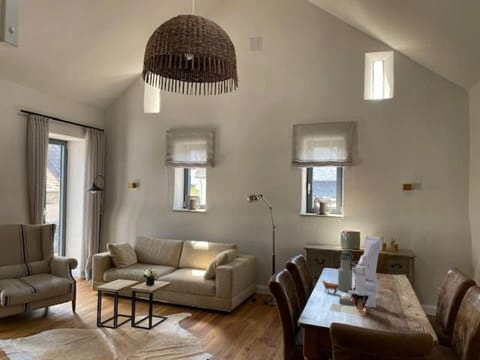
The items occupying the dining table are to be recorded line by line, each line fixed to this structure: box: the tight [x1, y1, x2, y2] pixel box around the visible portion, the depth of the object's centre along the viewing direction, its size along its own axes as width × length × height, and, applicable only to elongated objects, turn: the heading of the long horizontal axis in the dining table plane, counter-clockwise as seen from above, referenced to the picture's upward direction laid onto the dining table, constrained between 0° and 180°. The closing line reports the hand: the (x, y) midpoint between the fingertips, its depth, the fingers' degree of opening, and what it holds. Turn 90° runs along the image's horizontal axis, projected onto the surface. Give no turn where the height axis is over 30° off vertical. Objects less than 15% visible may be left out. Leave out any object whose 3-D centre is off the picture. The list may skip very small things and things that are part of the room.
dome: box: [341, 293, 350, 300], centre depth 238 cm, size 5×5×5 cm
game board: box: [329, 303, 367, 316], centre depth 226 cm, size 15×21×1 cm
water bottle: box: [337, 250, 355, 292], centre depth 269 cm, size 10×10×28 cm
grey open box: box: [338, 295, 356, 307], centre depth 238 cm, size 7×11×4 cm, turn 70°
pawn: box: [357, 298, 364, 310], centre depth 224 cm, size 4×4×6 cm
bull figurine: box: [321, 279, 339, 295], centre depth 261 cm, size 4×13×8 cm, turn 45°
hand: (360, 307), depth 224 cm, fingers closed on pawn, 4 cm apart
